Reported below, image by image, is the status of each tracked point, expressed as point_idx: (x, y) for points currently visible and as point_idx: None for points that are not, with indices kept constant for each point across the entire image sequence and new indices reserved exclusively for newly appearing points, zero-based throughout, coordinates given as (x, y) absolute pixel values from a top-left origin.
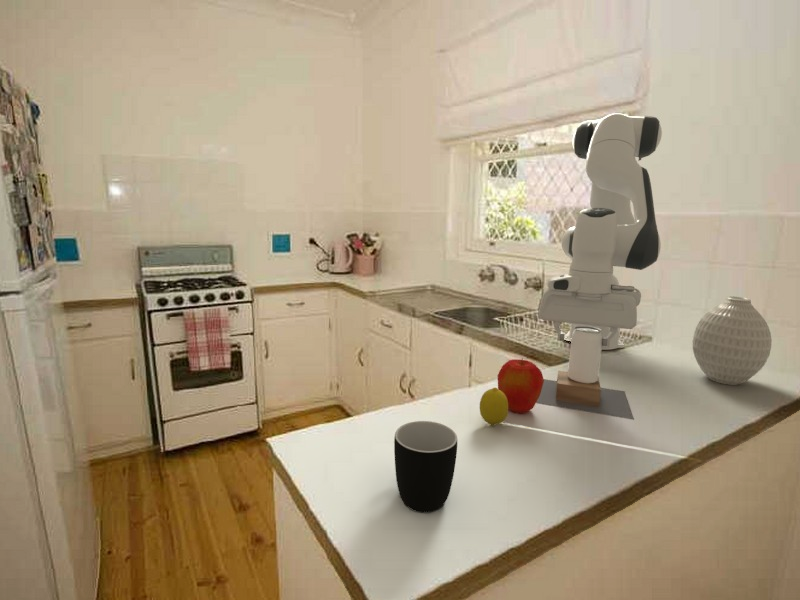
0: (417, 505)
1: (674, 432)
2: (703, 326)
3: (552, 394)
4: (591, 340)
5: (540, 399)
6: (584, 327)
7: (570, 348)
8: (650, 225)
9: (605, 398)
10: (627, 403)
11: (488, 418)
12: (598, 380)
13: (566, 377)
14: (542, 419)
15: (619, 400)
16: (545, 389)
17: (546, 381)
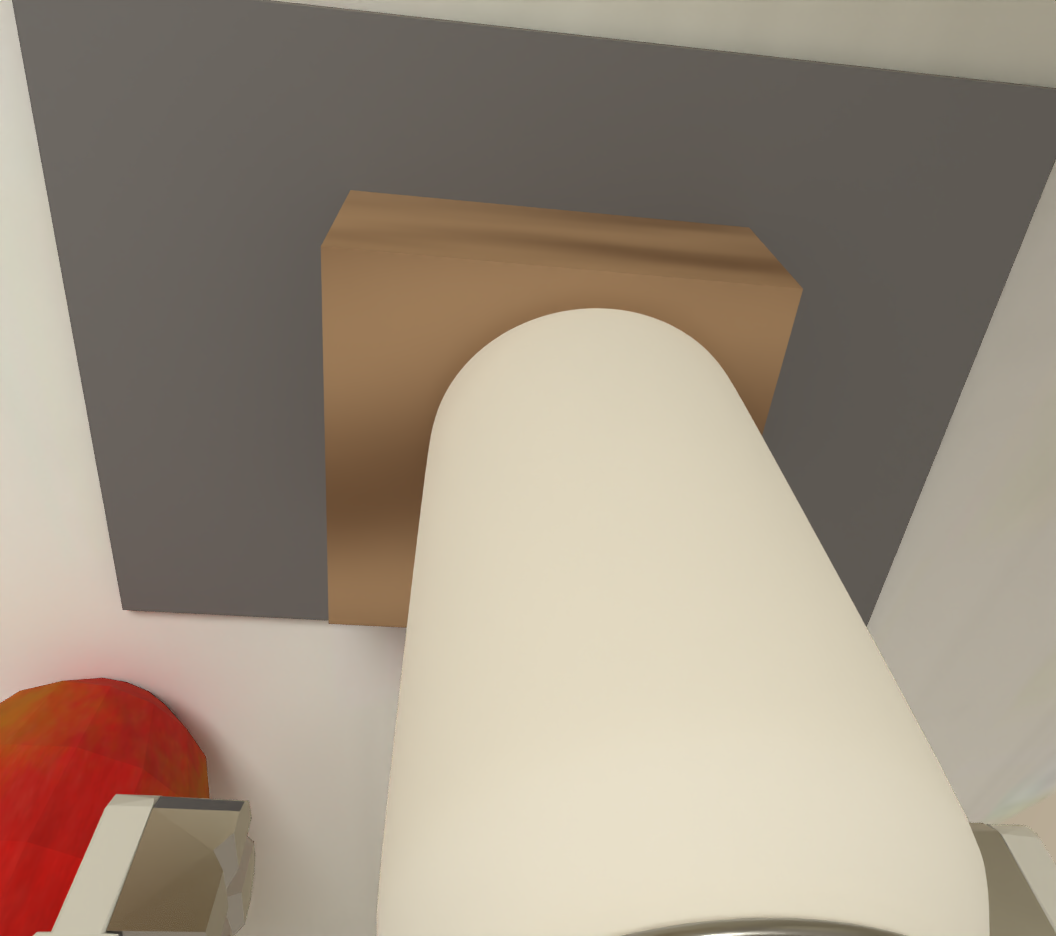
0: None
1: (1034, 693)
2: None
3: (320, 426)
4: None
5: (233, 551)
6: (696, 916)
7: (399, 690)
8: None
9: (787, 362)
10: (943, 409)
11: None
12: (758, 426)
13: (419, 451)
14: (284, 765)
15: (900, 367)
16: (247, 332)
17: (229, 75)
